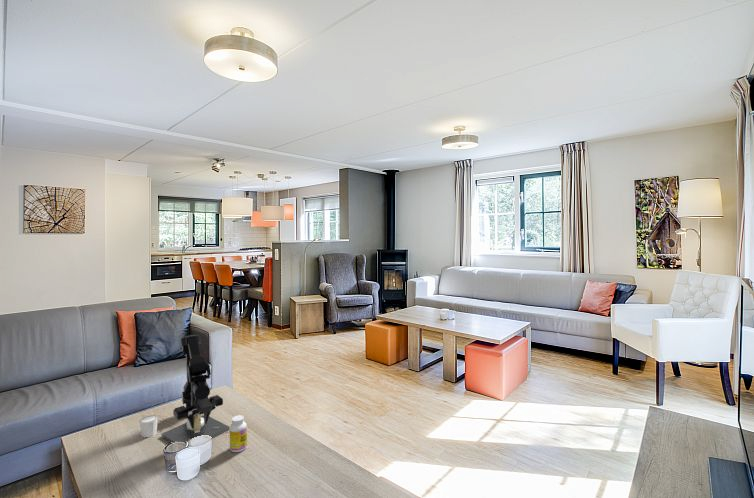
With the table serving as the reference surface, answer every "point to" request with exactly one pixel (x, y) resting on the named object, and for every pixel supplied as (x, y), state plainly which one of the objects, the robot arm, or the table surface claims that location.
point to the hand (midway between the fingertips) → (199, 425)
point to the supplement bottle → (238, 434)
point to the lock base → (183, 434)
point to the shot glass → (148, 426)
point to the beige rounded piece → (196, 423)
